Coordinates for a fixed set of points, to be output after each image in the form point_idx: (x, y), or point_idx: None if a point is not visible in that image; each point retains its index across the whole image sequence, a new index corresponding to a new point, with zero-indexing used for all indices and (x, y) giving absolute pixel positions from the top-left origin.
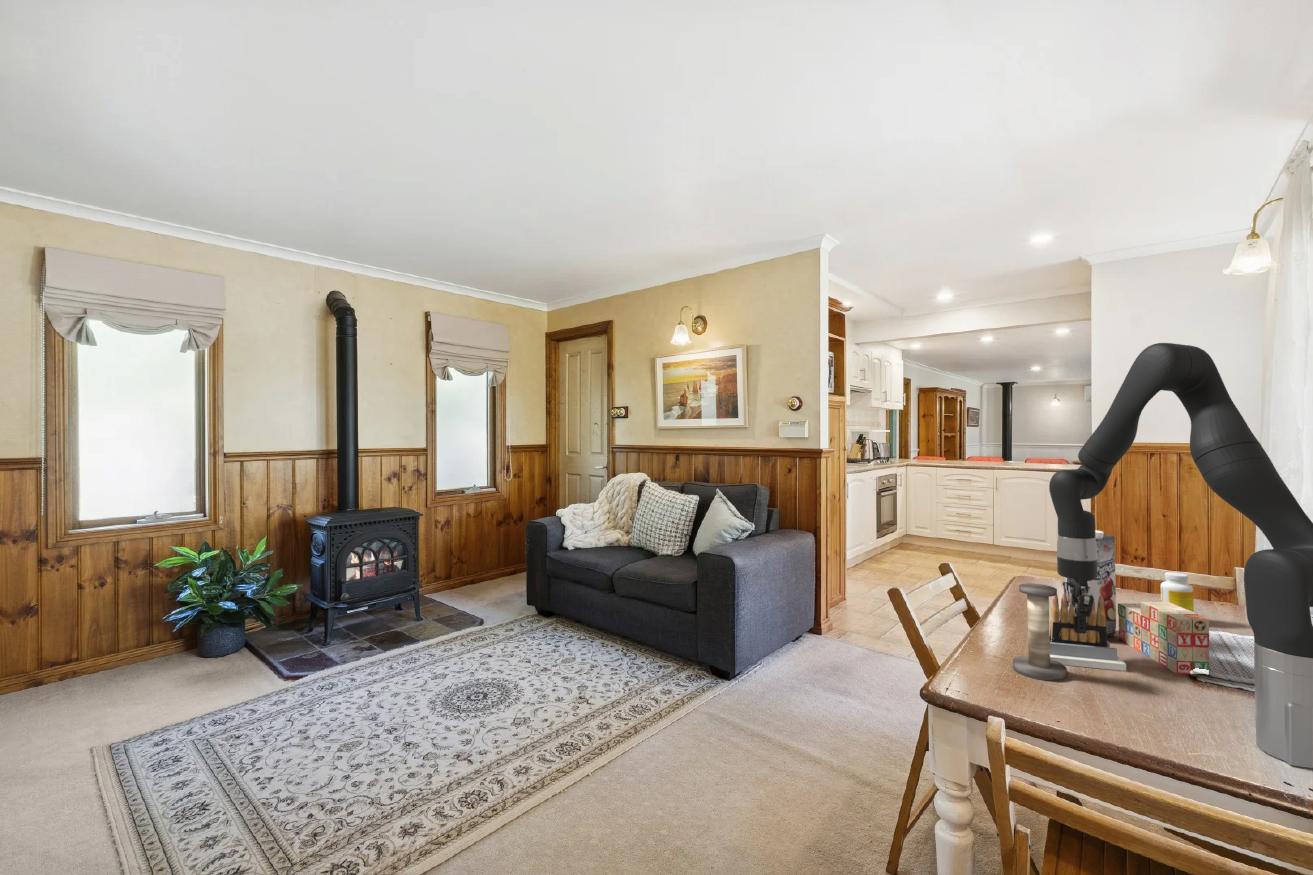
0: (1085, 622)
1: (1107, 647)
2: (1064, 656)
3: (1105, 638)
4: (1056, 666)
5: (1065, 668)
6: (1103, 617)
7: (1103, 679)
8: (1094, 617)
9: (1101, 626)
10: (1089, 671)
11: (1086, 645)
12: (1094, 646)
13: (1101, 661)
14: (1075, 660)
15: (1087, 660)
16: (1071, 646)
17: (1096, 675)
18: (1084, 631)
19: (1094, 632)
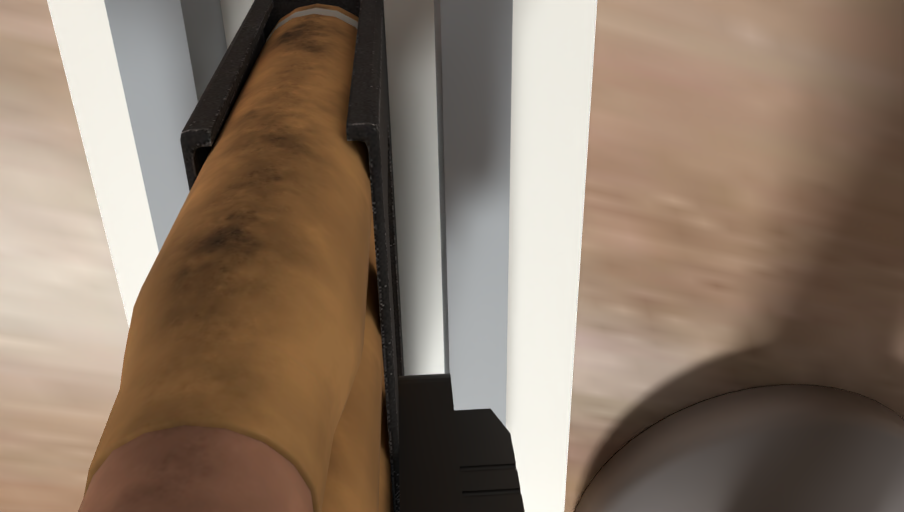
0: (466, 510)
1: (453, 22)
2: (513, 390)
3: (383, 64)
4: (798, 483)
5: (841, 434)
6: (358, 281)
7: (874, 132)
8: (374, 442)
9: (376, 210)
10: (680, 199)
11: (449, 265)
12: (460, 183)
13: (577, 89)
14: (574, 313)
15: (576, 221)
16: (504, 404)
17: (777, 165)
18: (491, 416)
19: (374, 251)
